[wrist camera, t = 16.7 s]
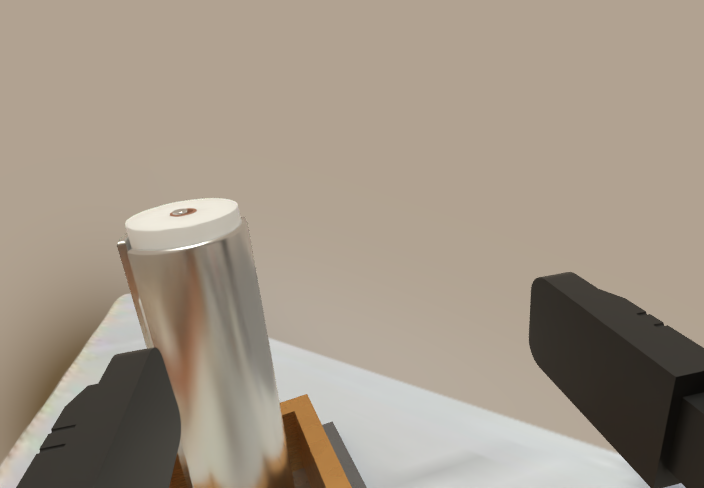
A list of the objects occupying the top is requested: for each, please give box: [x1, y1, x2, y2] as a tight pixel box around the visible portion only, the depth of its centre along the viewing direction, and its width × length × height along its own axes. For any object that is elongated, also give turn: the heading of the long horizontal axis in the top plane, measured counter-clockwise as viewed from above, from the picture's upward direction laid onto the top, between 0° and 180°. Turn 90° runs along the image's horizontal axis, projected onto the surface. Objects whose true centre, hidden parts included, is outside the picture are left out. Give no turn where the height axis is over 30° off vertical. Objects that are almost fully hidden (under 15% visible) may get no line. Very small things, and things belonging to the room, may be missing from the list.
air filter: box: [117, 198, 295, 488], centre depth 28 cm, size 6×6×25 cm
